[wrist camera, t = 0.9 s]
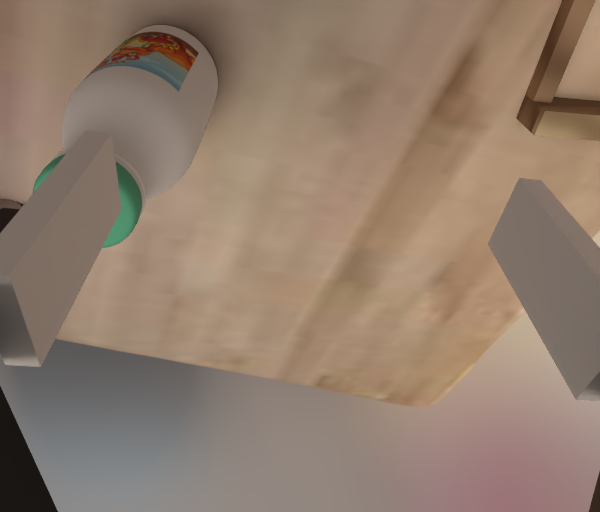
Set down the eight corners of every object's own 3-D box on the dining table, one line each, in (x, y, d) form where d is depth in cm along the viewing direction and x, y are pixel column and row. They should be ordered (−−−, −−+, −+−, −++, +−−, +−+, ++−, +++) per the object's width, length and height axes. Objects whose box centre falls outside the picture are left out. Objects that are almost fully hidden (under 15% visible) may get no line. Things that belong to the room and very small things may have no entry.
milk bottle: (238, 66, 36) (200, 196, 21) (189, 139, 40) (126, 298, 24) (147, -2, 33) (23, 92, 18) (104, 85, 37) (-31, 226, 21)
